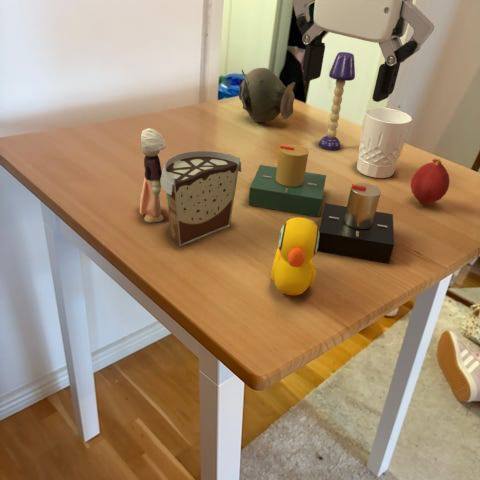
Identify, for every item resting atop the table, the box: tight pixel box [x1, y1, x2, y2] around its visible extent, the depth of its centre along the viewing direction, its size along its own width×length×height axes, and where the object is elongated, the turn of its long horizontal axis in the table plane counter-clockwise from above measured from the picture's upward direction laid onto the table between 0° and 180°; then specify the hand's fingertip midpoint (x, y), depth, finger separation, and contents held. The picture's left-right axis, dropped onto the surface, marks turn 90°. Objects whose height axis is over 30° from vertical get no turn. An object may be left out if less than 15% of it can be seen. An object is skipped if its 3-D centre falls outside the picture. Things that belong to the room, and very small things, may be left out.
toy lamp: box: [318, 51, 356, 151], centre depth 99 cm, size 5×5×17 cm
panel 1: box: [247, 164, 327, 218], centre depth 84 cm, size 11×9×3 cm
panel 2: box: [316, 202, 395, 264], centre depth 75 cm, size 10×9×3 cm
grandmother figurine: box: [139, 127, 167, 224], centre depth 73 cm, size 8×4×13 cm, turn 22°
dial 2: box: [344, 182, 382, 229], centre depth 72 cm, size 4×4×5 cm
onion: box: [410, 157, 450, 206], centre depth 85 cm, size 6×6×8 cm
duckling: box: [270, 217, 320, 296], centre depth 62 cm, size 11×5×10 cm, turn 171°
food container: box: [160, 150, 243, 248], centre depth 72 cm, size 12×6×10 cm, turn 135°
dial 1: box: [276, 143, 310, 187], centre depth 81 cm, size 4×4×5 cm
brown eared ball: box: [238, 67, 296, 123], centre depth 109 cm, size 10×12×10 cm
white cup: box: [356, 107, 413, 179], centre depth 93 cm, size 8×8×10 cm
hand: (344, 88), depth 64 cm, fingers open, 9 cm apart
